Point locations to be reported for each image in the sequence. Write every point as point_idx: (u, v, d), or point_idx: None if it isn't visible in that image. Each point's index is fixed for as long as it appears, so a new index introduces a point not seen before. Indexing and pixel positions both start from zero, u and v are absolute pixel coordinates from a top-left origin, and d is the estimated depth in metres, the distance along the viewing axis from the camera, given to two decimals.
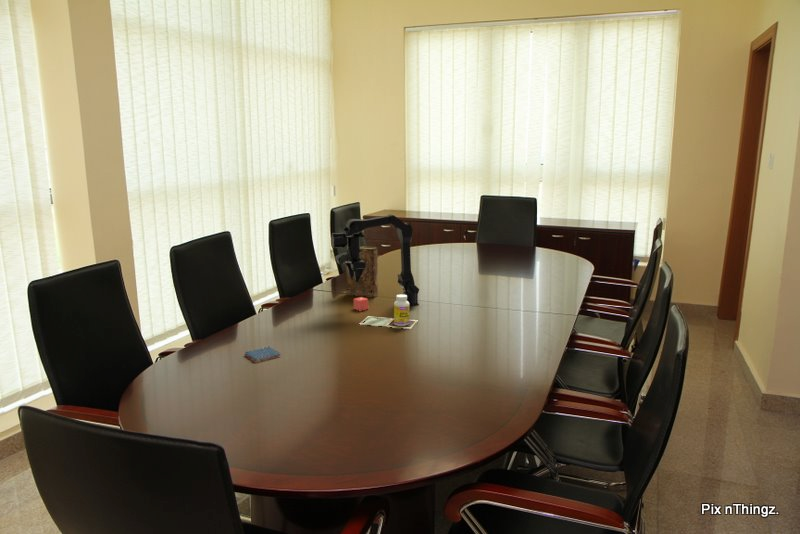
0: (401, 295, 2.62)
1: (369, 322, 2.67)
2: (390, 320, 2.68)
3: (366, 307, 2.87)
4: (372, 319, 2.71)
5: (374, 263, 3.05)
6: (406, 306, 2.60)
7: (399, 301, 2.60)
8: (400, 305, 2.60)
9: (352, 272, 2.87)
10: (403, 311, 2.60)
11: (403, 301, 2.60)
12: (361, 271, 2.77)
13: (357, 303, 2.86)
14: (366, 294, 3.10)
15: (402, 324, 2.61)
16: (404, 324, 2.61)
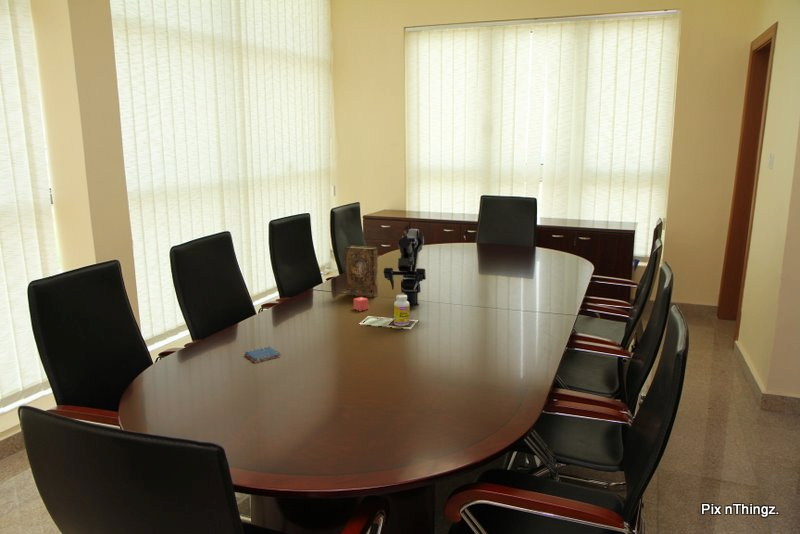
0: (401, 295, 2.62)
1: (369, 322, 2.67)
2: (390, 320, 2.68)
3: (366, 307, 2.87)
4: (372, 319, 2.71)
5: (374, 263, 3.05)
6: (406, 306, 2.60)
7: (399, 301, 2.60)
8: (400, 305, 2.60)
9: (393, 285, 2.72)
10: (403, 311, 2.60)
11: (403, 301, 2.60)
12: (418, 282, 2.73)
13: (357, 303, 2.86)
14: (366, 294, 3.10)
15: (402, 324, 2.61)
16: (404, 324, 2.61)
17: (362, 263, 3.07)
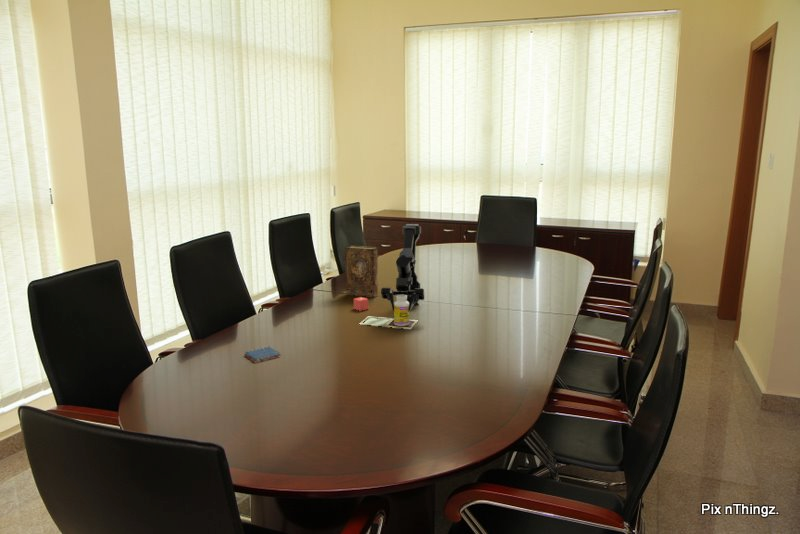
0: (401, 295, 2.62)
1: (369, 322, 2.67)
2: (390, 320, 2.68)
3: (366, 307, 2.87)
4: (372, 319, 2.71)
5: (374, 263, 3.05)
6: (406, 306, 2.60)
7: (399, 301, 2.60)
8: (400, 305, 2.60)
9: None
10: (403, 311, 2.60)
11: (403, 301, 2.60)
12: (414, 302, 2.65)
13: (357, 303, 2.86)
14: (366, 294, 3.10)
15: (402, 324, 2.61)
16: (404, 324, 2.61)
17: (362, 263, 3.07)
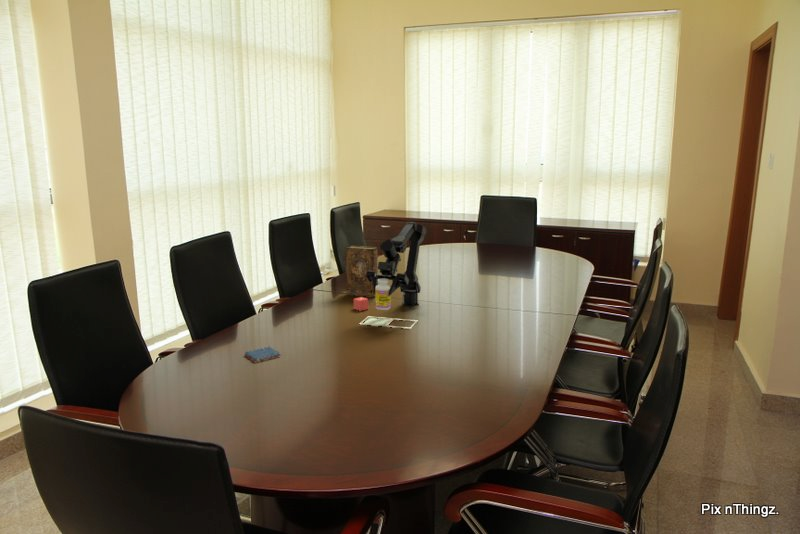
0: (383, 279, 2.63)
1: (369, 322, 2.67)
2: (390, 320, 2.68)
3: (366, 307, 2.87)
4: (372, 319, 2.71)
5: (374, 263, 3.05)
6: (386, 290, 2.60)
7: (379, 285, 2.61)
8: (379, 289, 2.60)
9: None
10: (382, 294, 2.61)
11: (383, 285, 2.61)
12: (397, 287, 2.65)
13: (357, 303, 2.86)
14: (366, 294, 3.10)
15: (381, 308, 2.62)
16: (384, 308, 2.62)
17: (362, 263, 3.07)
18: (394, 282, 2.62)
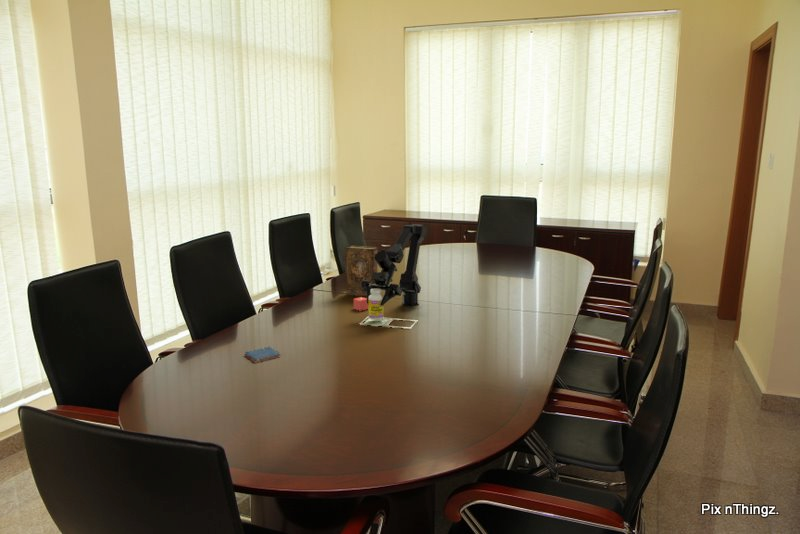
0: (376, 289, 2.65)
1: (369, 322, 2.67)
2: (390, 320, 2.68)
3: (366, 307, 2.87)
4: None
5: (374, 263, 3.05)
6: (378, 300, 2.63)
7: (372, 295, 2.64)
8: (372, 299, 2.63)
9: None
10: (374, 304, 2.63)
11: (375, 295, 2.63)
12: (390, 297, 2.66)
13: (357, 303, 2.86)
14: (366, 294, 3.10)
15: (374, 318, 2.64)
16: (376, 318, 2.64)
17: (362, 263, 3.07)
18: (387, 292, 2.64)
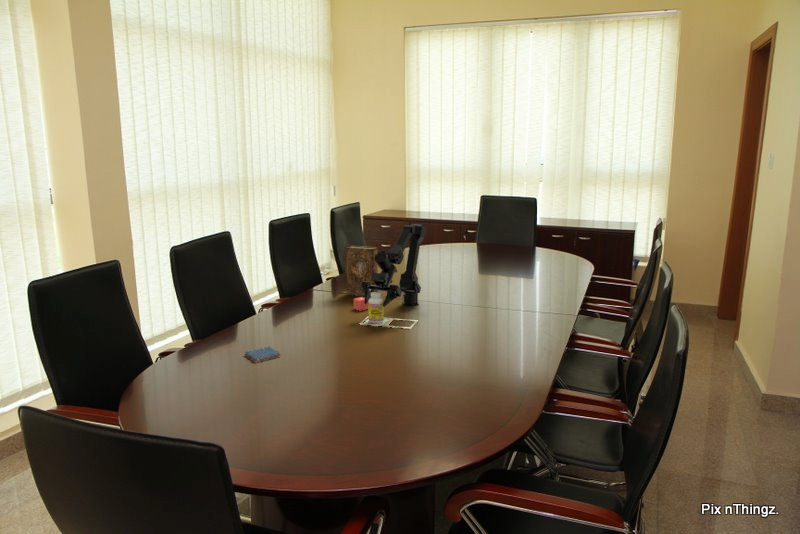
0: (376, 293, 2.66)
1: (369, 322, 2.67)
2: (390, 320, 2.68)
3: (366, 307, 2.87)
4: None
5: (374, 263, 3.05)
6: (378, 304, 2.63)
7: (372, 298, 2.64)
8: (372, 302, 2.63)
9: (367, 299, 2.69)
10: (374, 308, 2.63)
11: (375, 299, 2.64)
12: (392, 298, 2.66)
13: (357, 303, 2.86)
14: None
15: (373, 321, 2.65)
16: (376, 321, 2.65)
17: (362, 263, 3.07)
18: (389, 294, 2.63)
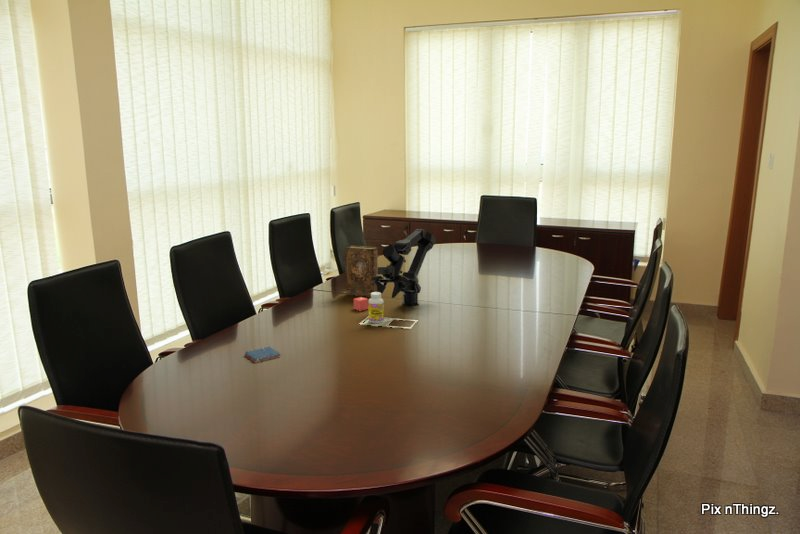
0: (376, 293, 2.66)
1: (369, 322, 2.67)
2: (390, 320, 2.68)
3: (366, 307, 2.87)
4: None
5: (374, 263, 3.05)
6: (378, 304, 2.63)
7: (372, 298, 2.64)
8: (372, 302, 2.63)
9: None
10: (374, 308, 2.63)
11: (375, 299, 2.64)
12: (401, 288, 2.73)
13: (357, 303, 2.86)
14: (366, 294, 3.10)
15: (373, 321, 2.65)
16: (376, 321, 2.65)
17: (362, 263, 3.07)
18: (395, 285, 2.71)
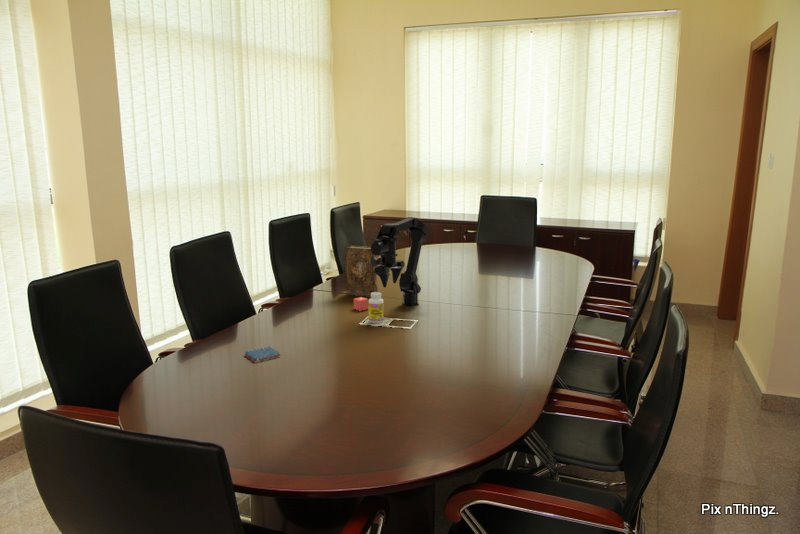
0: (376, 293, 2.66)
1: (369, 322, 2.67)
2: (390, 320, 2.68)
3: (366, 307, 2.87)
4: None
5: None
6: (378, 304, 2.63)
7: (372, 298, 2.64)
8: (372, 302, 2.63)
9: (395, 277, 2.83)
10: (374, 308, 2.63)
11: (375, 299, 2.64)
12: (385, 277, 2.72)
13: (357, 303, 2.86)
14: (366, 294, 3.10)
15: (373, 321, 2.65)
16: (376, 321, 2.65)
17: (362, 263, 3.07)
18: None
